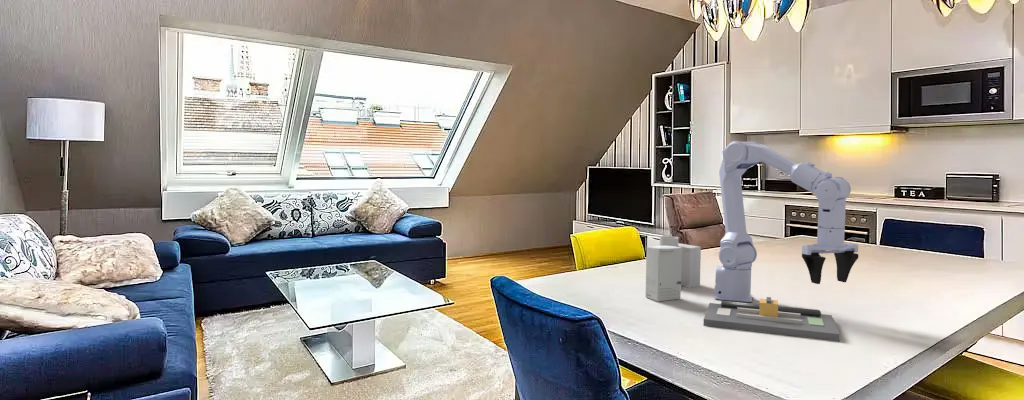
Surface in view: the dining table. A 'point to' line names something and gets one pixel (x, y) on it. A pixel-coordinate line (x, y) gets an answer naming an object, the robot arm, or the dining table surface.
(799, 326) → the grey base plate
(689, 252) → the white box
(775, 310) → the switch
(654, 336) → the dining table surface
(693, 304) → the dining table surface
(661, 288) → the skincare box
